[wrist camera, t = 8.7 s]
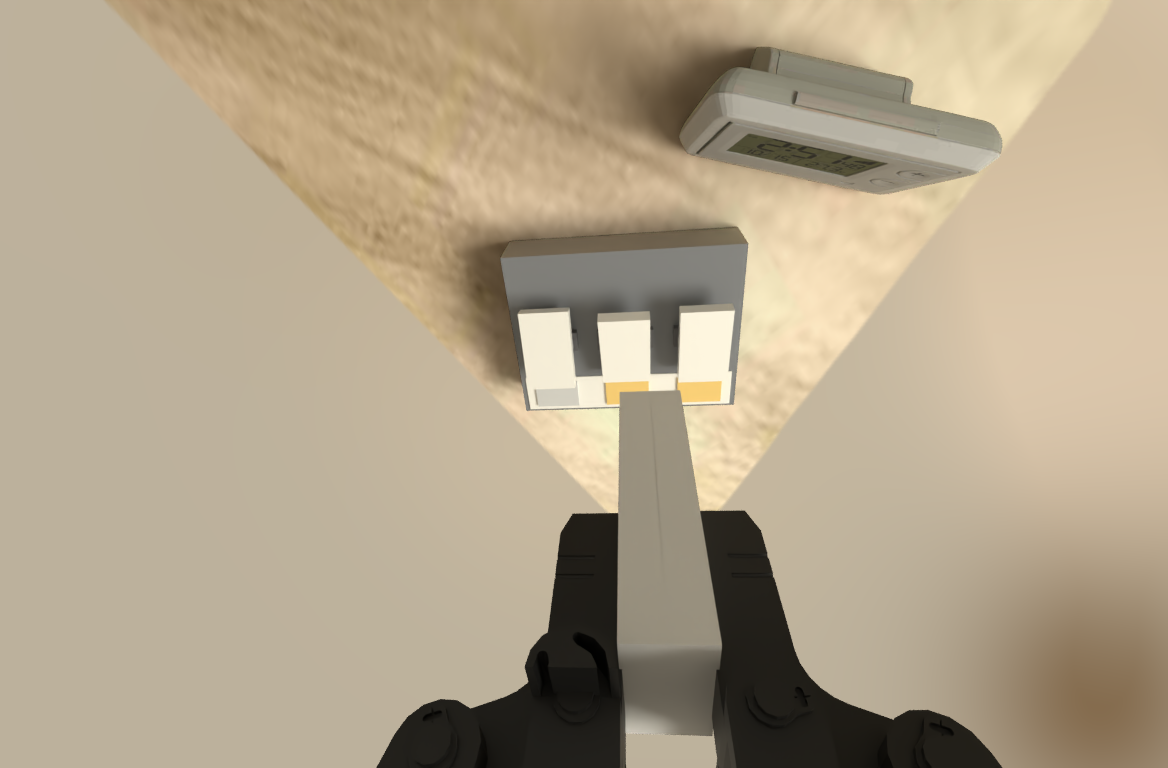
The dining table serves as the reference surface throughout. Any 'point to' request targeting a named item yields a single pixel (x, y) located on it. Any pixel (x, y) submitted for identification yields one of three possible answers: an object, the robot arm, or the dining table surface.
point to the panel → (627, 303)
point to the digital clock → (834, 126)
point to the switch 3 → (704, 342)
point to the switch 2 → (625, 346)
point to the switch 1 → (547, 348)
